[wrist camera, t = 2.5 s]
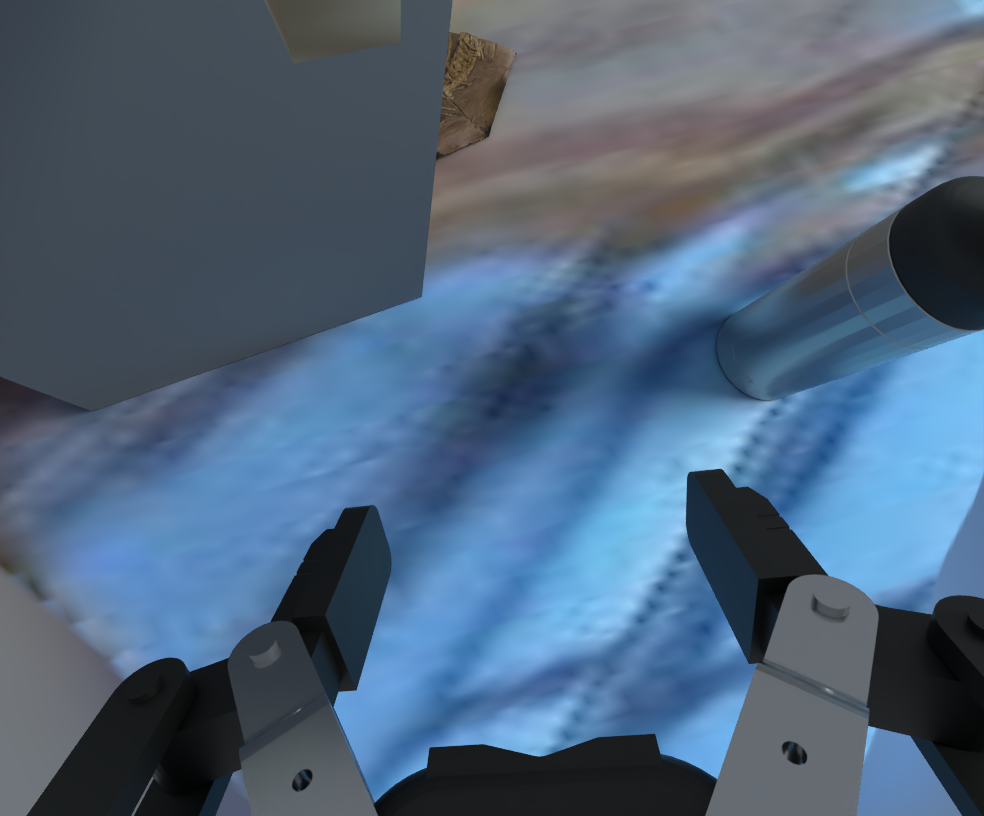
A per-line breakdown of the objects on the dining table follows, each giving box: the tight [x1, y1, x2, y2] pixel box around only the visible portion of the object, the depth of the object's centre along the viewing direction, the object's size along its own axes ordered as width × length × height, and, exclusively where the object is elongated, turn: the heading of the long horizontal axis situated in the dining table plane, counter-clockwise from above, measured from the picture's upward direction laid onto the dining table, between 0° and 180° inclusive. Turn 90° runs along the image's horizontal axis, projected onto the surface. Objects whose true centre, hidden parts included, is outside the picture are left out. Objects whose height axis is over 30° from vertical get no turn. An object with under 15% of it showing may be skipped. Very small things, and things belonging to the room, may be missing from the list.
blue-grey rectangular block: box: [0, 0, 452, 411], centre depth 25 cm, size 26×12×32 cm, turn 116°
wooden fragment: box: [436, 32, 516, 159], centre depth 47 cm, size 26×11×1 cm, turn 139°
